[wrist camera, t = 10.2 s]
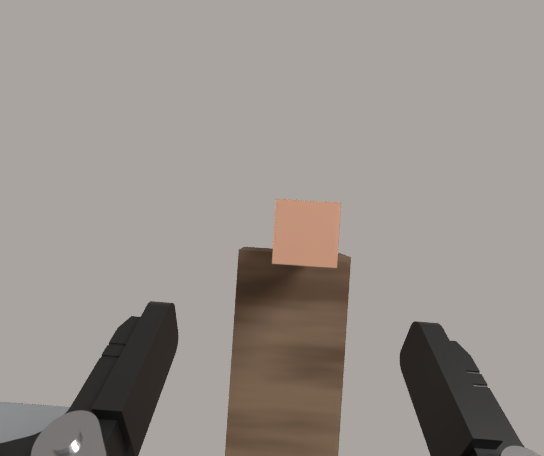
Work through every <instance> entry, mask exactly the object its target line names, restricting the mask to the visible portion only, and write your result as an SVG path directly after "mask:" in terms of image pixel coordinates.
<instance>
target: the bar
mask: <svg viewBox="0 0 544 456" xmlns="http://www.w3.org/2000/svg"><path fill="white" fill-rule="evenodd" d="M340 213H341V203H332V202H317V201H302V200H286V199H276V210H275V224H274V240H273V254H272V264H285V265H300V266H314V267H329V268H337V260H338V244H339V229H340Z"/></svg>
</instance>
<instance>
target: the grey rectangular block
mask: <svg viewBox="0 0 544 456" xmlns="http://www.w3.org/2000/svg"><path fill="white" fill-rule="evenodd" d="M69 408H70V407H61V406H48V405H36V404H23V403H10V402H0V443H3V442H7V441H11V440H15V439H19V438H23V437H28V436H31V435H34V434H36V433H39V432H41V431H43V430H44V429H45V428H46V427H47V426H48V425H49V424H50V423H51V422H52V421H54V420H55V419H57V418H58V417H60V416H62V415H64V414H65V413H66V412H67V411H68V410H69Z"/></svg>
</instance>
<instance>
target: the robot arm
mask: <svg viewBox="0 0 544 456" xmlns="http://www.w3.org/2000/svg"><path fill="white" fill-rule="evenodd" d="M177 344H178V329H177V320H176V312H175V306H174V304H173V303H163V302H152V301H151V302H149V303H148V305H147V306H146V308H145V310H144V312H143V314H142V316H141V317H134V316H131V317H130V318H129V319H128V320H127V321H125V322H124V323H123V324H122V325H121V326H120V327H118V329H117V330H116V332H115V333H114V335H113V337H112V339H111V340H110V342H109V345H108V346H107V347H106V349H105V350H104V352H103V354H102V357H101V358H100V359H99V361H98V362H97V364H96V365H95V367H94V369H93V370H92V372H91V374H90V375H89V377H88V379H87V380H86V382H85V384H84V385H83V387H82V389H81V391H80V392H79V394H78V395H77V397H76V399H75V401H74V402H73V404H72V405H71V407H70V408H69V410H68V411H67V412H66V413H65V414H64V415H62V416H60V417H58V418H57V419H55V420H54V421H52V422H51V423H50V424H49V425H48V426H47V427H46V428H45V429H44V430H43V431H41V432H39V433H36V434H34V435H31V436H28V437H23V438H19V439H15V440H11V441H7V442H3V443H0V456H138V455H139V452H140V449H141V446H142V444H143V441H144V438H145V435H146V433H147V430H148V427H149V424H150V422H151V419H152V416H153V413H154V411H155V408H156V405H157V402H158V400H159V397H160V394H161V391H162V389H163V386H164V383H165V380H166V378H167V375H168V372H169V369H170V367H171V364H172V361H173V358H174V355H175V353H176V349H177ZM400 367H401V371H402V373H403V377H404V379H405V382H406V385H407V388H408V391H409V394H410V397H411V400H412V403H413V406H414V409H415V411H416V414H417V417H418V420H419V423H420V426H421V428H422V432H423V434H424V437H425V440H426V443H427V446H428V449H429V452H430V455H431V456H540V455H538V454H537V453H535V452H533V451H532V450H529V449H527V448H525V447H524V446H523V445H522V443H521V441H520V440H519V438H518V436H517V435H516V433H515V431H514V430H513V428H512V426H511V424H510V423H509V421H508V419H507V417H506V416H505V414H504V412H503V411H502V409H501V407H500V406H499V404H498V402H497V400H496V399H495V397H494V395H493V394H492V392H491V390H490V388H488V387H487V383H486V382H485V380H484V378H483V376H482V375H481V374H480V373H479V370H478V368H477V366H476V364H475V363H474V361H473V359H472V357H471V356H470V355H469V354H468V353H467V352H466V351H465V350H464V349H463V348H462V347H461V346H460V345H459V344H458V343H457V342H456V341H449V339H448V337H447V335H446V333H445V332H444V329H443V328H442V326H441V325H440V324H438V323H427V322H413V323H412V325H411V327H410V329H409V332H408V334H407V337H406V339H405V342H404V344H403V347H402V349H401V352H400Z"/></svg>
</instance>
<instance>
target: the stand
mask: <svg viewBox="0 0 544 456" xmlns="http://www.w3.org/2000/svg"><path fill="white" fill-rule="evenodd" d="M272 254H273V249H269V248H254V247H243V248H241V249H239V256H238V270H237V286H236V300H235V316H234V330H233V345H232V359H231V374H230V391H229V404H228V420H227V434H226V449H225V456H338V448H339V432H340V417H341V401H342V387H343V370H344V356H345V340H346V325H347V308H348V293H349V278H350V263H351V257H349V256H346V255H343V254H340V253H338V260H337V268H329V267H314V266H300V265H285V264H272Z"/></svg>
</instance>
